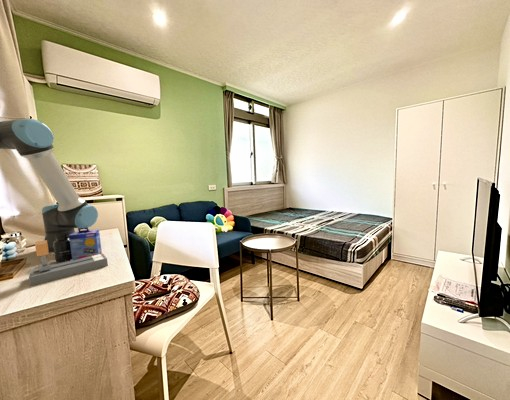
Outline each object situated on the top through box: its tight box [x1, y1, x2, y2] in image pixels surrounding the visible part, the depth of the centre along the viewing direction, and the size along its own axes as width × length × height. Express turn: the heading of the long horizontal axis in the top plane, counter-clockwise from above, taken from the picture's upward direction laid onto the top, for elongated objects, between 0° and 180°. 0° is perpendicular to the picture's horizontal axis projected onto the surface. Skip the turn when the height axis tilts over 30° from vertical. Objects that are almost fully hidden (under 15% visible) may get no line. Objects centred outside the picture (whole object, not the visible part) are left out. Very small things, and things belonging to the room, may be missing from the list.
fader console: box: [28, 252, 109, 287], centre depth 83 cm, size 22×9×3 cm, turn 134°
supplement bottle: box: [53, 232, 72, 263], centre depth 96 cm, size 7×7×12 cm
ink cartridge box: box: [69, 227, 103, 261], centre depth 96 cm, size 10×6×14 cm, turn 113°
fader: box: [34, 239, 52, 272], centre depth 78 cm, size 3×6×10 cm, turn 44°
